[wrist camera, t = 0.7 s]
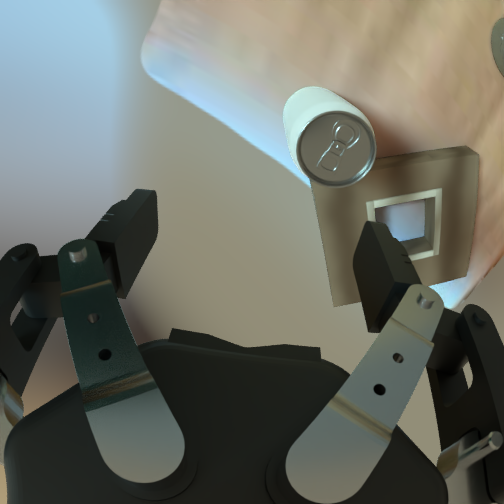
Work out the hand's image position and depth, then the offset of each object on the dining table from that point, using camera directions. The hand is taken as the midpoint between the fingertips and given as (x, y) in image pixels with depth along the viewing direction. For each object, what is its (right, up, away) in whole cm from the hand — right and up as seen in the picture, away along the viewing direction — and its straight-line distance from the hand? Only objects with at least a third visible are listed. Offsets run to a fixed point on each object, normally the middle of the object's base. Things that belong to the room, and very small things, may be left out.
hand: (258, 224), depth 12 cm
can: (+6, +13, +18) cm, 23 cm away
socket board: (+18, +3, +24) cm, 30 cm away
